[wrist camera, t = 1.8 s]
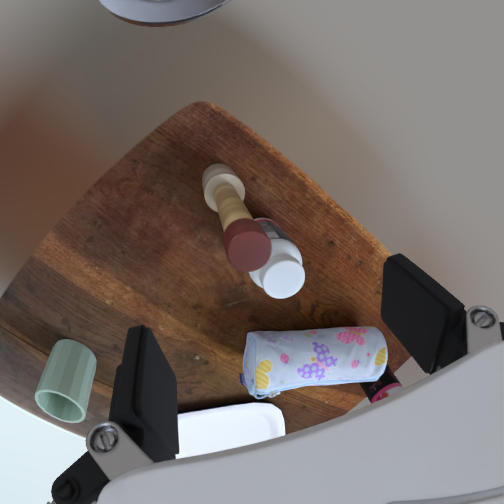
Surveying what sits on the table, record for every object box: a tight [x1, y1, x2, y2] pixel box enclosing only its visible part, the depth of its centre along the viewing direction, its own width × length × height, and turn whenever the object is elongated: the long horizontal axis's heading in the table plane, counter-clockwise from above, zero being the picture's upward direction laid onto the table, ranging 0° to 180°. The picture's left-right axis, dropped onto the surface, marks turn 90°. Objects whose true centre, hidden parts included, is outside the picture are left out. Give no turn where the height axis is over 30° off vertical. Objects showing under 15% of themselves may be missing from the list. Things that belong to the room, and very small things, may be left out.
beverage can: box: [359, 364, 404, 404], centre depth 46 cm, size 7×7×15 cm
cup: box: [35, 339, 97, 423], centre depth 33 cm, size 7×7×10 cm
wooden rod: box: [202, 163, 272, 272], centre depth 24 cm, size 4×4×18 cm
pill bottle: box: [249, 218, 305, 299], centre depth 31 cm, size 5×5×10 cm
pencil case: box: [240, 326, 388, 399], centre depth 40 cm, size 21×9×10 cm, turn 83°
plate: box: [176, 402, 285, 459], centre depth 52 cm, size 25×25×2 cm
